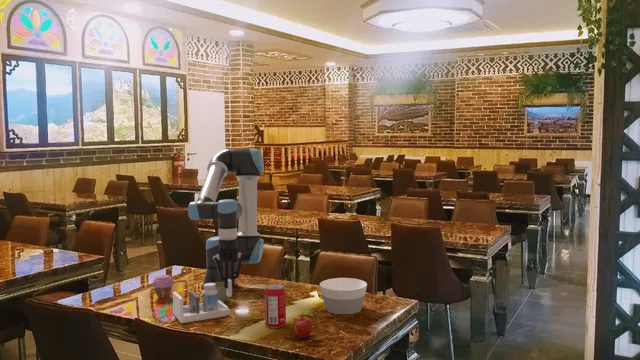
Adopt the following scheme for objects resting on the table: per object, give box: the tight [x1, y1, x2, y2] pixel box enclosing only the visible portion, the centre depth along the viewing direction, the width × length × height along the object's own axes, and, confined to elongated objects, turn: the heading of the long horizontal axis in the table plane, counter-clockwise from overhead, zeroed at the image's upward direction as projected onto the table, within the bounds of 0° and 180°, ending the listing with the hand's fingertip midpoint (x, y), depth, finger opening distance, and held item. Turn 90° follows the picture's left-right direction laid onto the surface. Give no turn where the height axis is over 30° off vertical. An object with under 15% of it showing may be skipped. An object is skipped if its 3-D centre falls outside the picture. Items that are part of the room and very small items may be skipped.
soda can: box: [263, 284, 287, 329], centre depth 213 cm, size 8×8×15 cm
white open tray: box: [172, 291, 230, 324], centre depth 228 cm, size 19×13×9 cm
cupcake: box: [152, 274, 175, 299], centre depth 253 cm, size 9×9×10 cm
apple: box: [293, 310, 313, 339], centre depth 201 cm, size 8×7×10 cm
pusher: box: [183, 290, 200, 314], centre depth 226 cm, size 5×10×8 cm, turn 28°
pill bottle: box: [201, 283, 218, 312], centre depth 230 cm, size 6×6×11 cm
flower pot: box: [215, 282, 229, 303], centre depth 246 cm, size 10×10×7 cm
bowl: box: [319, 277, 368, 315], centre depth 233 cm, size 19×19×11 cm
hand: (229, 295), depth 233 cm, fingers closed
